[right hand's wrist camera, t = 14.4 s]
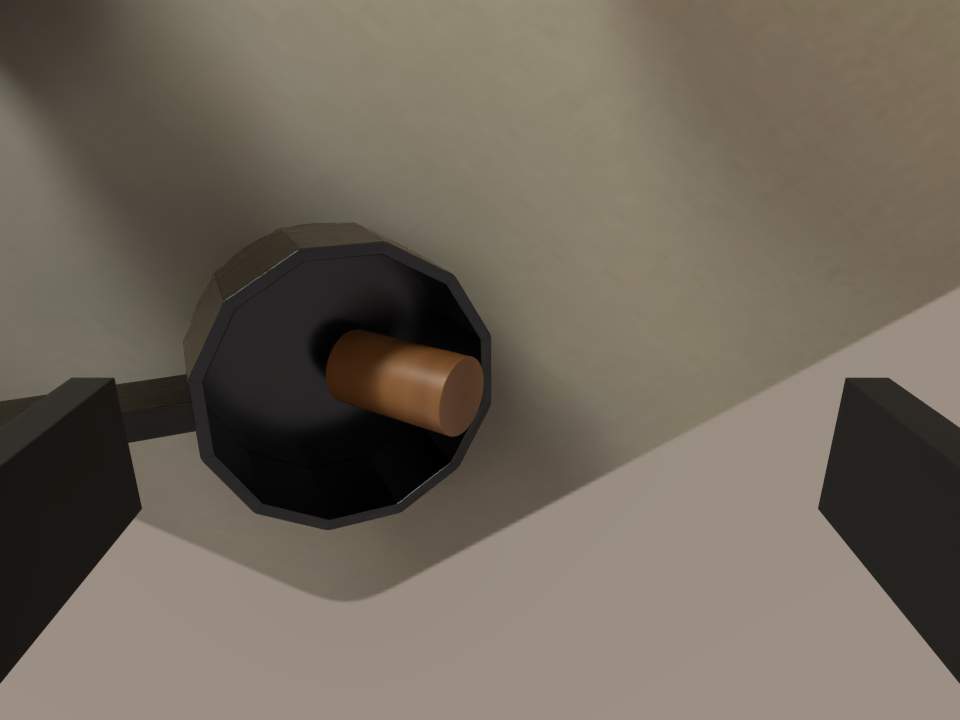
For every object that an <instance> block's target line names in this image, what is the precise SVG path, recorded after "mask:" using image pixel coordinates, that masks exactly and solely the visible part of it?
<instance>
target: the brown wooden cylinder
mask: <svg viewBox="0 0 960 720" xmlns="http://www.w3.org/2000/svg"><path fill="white" fill-rule="evenodd" d="M326 382H327V387H328V389H329V392H330V393H331V395H332V396H333V397H334V398H335V399H336V400H337V401H339V402H342V403H346V404H349V405H352V406H355V407H358V408H361V409H365V410H368V411H371V412H374V413H377V414H380V415H384V416H387V417H390V418H393V419H396V420H400V421H403V422H406V423H409V424H412V425H415V426H419V427H422V428H425V429H428V430H431V431H434V432H438V433H441V434H444V435H447V436H451V437H454V436H458V435H460V434H462V433H463V432H464V431H465V430H466V429H467V428H468V427H469V426H470V424H471V423H472V421H473V420H474V418H475V416H476V414H477V412H478V409H479V406H480V403H481V399H482V394H483V387H484V377H483V371H482V367H481V365H480V363H479V362H478V360H477V359H475V358H474V357H471V356H467V355H463V354H459V353H455V352H451V351H447V350H443V349H439V348H434V347H430V346H426V345H422V344H418V343H414V342H410V341H406V340H402V339H397V338H393V337H389V336H385V335H381V334H377V333H373V332H369V331H365V330H360V329H356V330H352V331H349V332H347V333H345V334H344V335H343V336H342V337H341V338H340V339H339V340H338V341H337V342H336V344H335V345H334V347H333V349H332V351H331V353H330V355H329V358H328V362H327V367H326Z"/></svg>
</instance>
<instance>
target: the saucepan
mask: <svg viewBox="0 0 960 720" xmlns="http://www.w3.org/2000/svg"><path fill="white" fill-rule="evenodd" d="M356 329H360V330H365V331H369V332H373V333H377V334H381V335H385V336H389V337H393V338H397V339H402V340H406V341H410V342H414V343H418V344H422V345H426V346H430V347H434V348H439V349H443V350H447V351H451V352H455V353H459V354H463V355H467V356H471V357H474V358H475V359H477V360H478V362H479V363H480V365H481V367H482V371H483V377H484V387H483V394H482V399H481V403H480V406H479V409H478V412H477V414H476V416H475V418H474V420H473V421H472V423H471V424H470V426H469V427H468V428H467V429H466V430H465V431H464V432H463V433H462V434H460V435H458V436H454V437H451V436H447V435H444V434H441V433H438V432H434V431H431V430H428V429H425V428H422V427H419V426H415V425H412V424H409V423H406V422H403V421H400V420H396V419H393V418H390V417H387V416H384V415H380V414H377V413H374V412H371V411H368V410H365V409H361V408H358V407H355V406H352V405H349V404H346V403H342V402H339V401H337V400H336V399H335V398H334V397H333V396H332V395H331V393H330V392H329V389H328V387H327V382H326V367H327V362H328V358H329V355H330V353H331V351H332V349H333V347H334V345H335V344H336V342H337V341H338V340H339V339H340V338H341V337H342V336H343V335H344V334H345V333H347V332H349V331H352V330H356ZM183 346H184V355H185V363H186V372H187V374H185V375H179V376H172V377H165V378H158V379H151V380H144V381H138V382H131V383H124V384H117V385H116V388H117V393H118V398H119V403H120V407H121V412H122V417H123V422H124V426H125V431H126V436H127V440H128V443H130V442H136V441H142V440H147V439H153V438H159V437H165V436H170V435H176V434H182V433H187V432H193V431H196V434H197V440H198V445H199V451H200V457H201V459H202V461H203V462H204V463H205V464H206V465H207V466H208V467H209V468H210V469H211V470H212V471H213V472H214V473H215V474H216V475H217V476H218V477H219V478H220V479H221V480H222V481H223V482H224V483H225V484H226V485H227V486H228V487H229V488H230V489H231V490H232V491H233V492H234V493H235V494H236V495H237V496H238V497H239V498H240V499H241V500H242V501H243V502H244V503H245V504H246V505H247V506H248V507H249V508H250V509H251V510H252V511H253V512H254V513H256V514H260V515H264V516H269V517H273V518H277V519H281V520H286V521H290V522H294V523H298V524H303V525H307V526H311V527H315V528H320V529H324V530H332V529H336V528H340V527H344V526H348V525H352V524H356V523H360V522H364V521H369V520H373V519H377V518H381V517H385V516H389V515H393V514H397V513H400V512H402V511H403V510H405V509H406V508H407V507H409V506H410V505H411V504H412V503H414V502H415V501H416V500H417V499H419V498H420V497H421V496H423V495H424V494H425V493H426V492H428V491H429V490H430V489H432V488H433V487H434V486H435V485H437V484H438V483H439V482H440V481H442V480H443V479H444V478H446V477H447V476H448V475H449V474H451V473H452V472H453V471H455V470H456V469H457V468H458V467H459V465H460V463H461V461H462V460H463V458H464V456H465V454H466V452H467V450H468V448H469V446H470V444H471V442H472V440H473V438H474V436H475V434H476V432H477V430H478V429H479V427H480V425H481V423H482V421H483V419H484V417H485V415H486V413H487V411H488V409H489V407H490V404H491V336H490V333H489V331H488V330H487V328H486V326H485V325H484V323H483V322H482V320H481V318H480V317H479V315H478V313H477V312H476V310H475V308H474V307H473V305H472V303H471V302H470V300H469V298H468V297H467V295H466V293H465V292H464V290H463V288H462V287H461V285H460V283H459V282H458V280H457V278H456V277H455V276H454V275H453V274H452V273H450V272H448V271H446V270H445V269H443V268H441V267H439V266H438V265H436V264H434V263H432V262H431V261H429V260H427V259H426V258H424V257H422V256H420V255H419V254H417V253H415V252H413V251H411V250H409V249H407V248H405V247H403V246H401V245H399V244H397V243H395V242H393V241H391V240H389V239H387V238H385V237H383V236H381V235H379V234H377V233H375V232H373V231H371V230H369V229H367V228H365V227H363V226H361V225H359V224H357V223H341V224H337V223H312V224H305V225H298V226H294V227H288V228H280V229H277V230H276V231H274V232H273V233H271V234H270V235H267V236H265V237H263V238H261V239H259V240H257V241H255V242H254V243H252V244H250V245H249V246H247V247H245V248H244V249H243V250H241V251H240V252H239V253H238V254H236V255H235V256H234V257H233V258H231V259H230V260H229V261H228V262H227V263H226V264H225V265H224V266H223V267H221V268H220V269H218V270H217V271H216V272H215V273H214V274H213V276H212V278H211V281H210V283H209V285H208V286H207V287H206V289H205V291H204V293H203V295H202V297H201V298H200V300H199V302H198V304H197V307H196V310H195V312H194V315H193V318H192V321H191V325H190V327H189V329H188V332H187V334H186V336H185V338H184V342H183ZM45 396H46V395H42V396H35V397H28V398H21V399H14V400H8V401H1V402H0V428H1V427H2V426H3V425H5V424H6V423H8V422H9V421H11V420H12V419H13V418H15V417H16V416H18V415H19V414H21V413H22V412H23V411H25V410H26V409H28V408H29V407H31V406H32V405H33V404H35V403H36V402H38V401H39V400H41V399H42V398H43V397H45Z"/></svg>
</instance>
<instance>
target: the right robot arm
mask: <svg viewBox="0 0 960 720" xmlns="http://www.w3.org/2000/svg"><path fill="white" fill-rule="evenodd" d="M141 509H142V507H141V502H140V497H139V492H138V488H137V483H136V478H135V474H134V469H133V464H132V459H131V455H130V450H129V445H128V440H127V436H126V431H125V426H124V422H123V417H122V412H121V407H120V403H119V398H118V393H117V388H116V384H115V379H114V378H71V379H69V380H68V381H66V382H65V383H63V384H62V385H61V386H59V387H58V388H56V389H55V390H53V391H52V392H51V393H49V394H48V395H46V396H45V397H43V398H42V399H41V400H39V401H38V402H36V403H35V404H33V405H32V406H31V407H29V408H28V409H26V410H25V411H23V412H22V413H21V414H19V415H18V416H16V417H15V418H13V419H12V420H11V421H9V422H8V423H6V424H5V425H3V426H2V427H1V428H0V683H1V682H2V681H3V679H4V678H5V677H6V676H7V675H8V673H9V672H10V671H11V670H12V668H13V667H14V666H15V665H16V663H17V662H18V661H19V660H20V658H21V657H22V656H23V655H24V654H25V652H26V651H27V650H28V649H29V647H30V646H31V645H32V644H33V642H34V641H35V640H36V639H37V638H38V636H39V635H40V634H41V633H42V631H43V630H44V629H45V628H46V626H47V625H48V624H49V623H50V621H51V620H52V619H53V618H54V617H55V615H56V614H57V613H58V612H59V610H60V609H61V608H62V607H63V605H64V604H65V603H66V602H67V600H68V599H69V598H70V597H71V596H72V594H73V593H74V592H75V591H76V589H77V588H78V587H79V586H80V584H81V583H82V582H83V581H84V579H85V578H86V577H87V576H88V575H89V573H90V572H91V571H92V570H93V568H94V567H95V566H96V565H97V563H98V562H99V561H100V560H101V558H102V557H103V556H104V555H105V554H106V552H107V551H108V550H109V549H110V547H111V546H112V545H113V544H114V542H115V541H116V540H117V539H118V538H119V536H120V535H121V534H122V533H123V531H124V530H125V529H126V528H127V526H128V525H129V524H130V523H131V522H132V520H133V519H134V518H135V517H136V515H137V514H138V513H139V512H140V510H141ZM818 509H819V510H820V512H821V513H822V514H823V515H824V517H825V518H826V519H827V520H828V522H829V523H830V524H831V525H832V527H833V528H834V529H835V530H836V531H837V533H838V534H839V535H840V536H841V538H842V539H843V540H844V541H845V543H846V544H847V545H848V546H849V547H850V549H851V550H852V551H853V552H854V554H855V555H856V556H857V557H858V559H859V560H860V561H861V562H862V564H863V565H864V566H865V567H866V568H867V570H868V571H869V572H870V573H871V575H872V576H873V577H874V578H875V580H876V581H877V582H878V583H879V584H880V586H881V587H882V588H883V589H884V591H885V592H886V593H887V594H888V596H889V597H890V598H891V599H892V600H893V602H894V603H895V604H896V605H897V607H898V608H899V609H900V610H901V612H902V613H903V614H904V615H905V617H906V618H907V619H908V620H909V621H910V623H911V624H912V625H913V626H914V628H915V629H916V630H917V631H918V633H919V634H920V635H921V636H922V638H923V639H924V640H925V641H926V642H927V644H928V645H929V646H930V647H931V648H932V650H933V651H934V652H935V654H936V655H937V656H938V657H939V658H940V660H941V661H942V662H943V663H944V665H945V666H946V667H947V668H948V670H949V671H950V672H951V673H952V674H953V676H954V677H955V678H956V679H957V681H958V682H959V683H960V428H959V427H958V426H957V425H955V424H954V423H952V422H951V421H949V420H948V419H947V418H945V417H944V416H942V415H941V414H939V413H938V412H937V411H935V410H934V409H932V408H931V407H929V406H928V405H926V404H925V403H924V402H922V401H921V400H919V399H918V398H916V397H915V396H914V395H912V394H911V393H909V392H908V391H907V390H905V389H904V388H902V387H901V386H899V385H898V384H897V383H895V382H894V381H892V380H891V379H889V378H846V379H845V384H844V388H843V393H842V398H841V403H840V407H839V412H838V417H837V422H836V426H835V431H834V436H833V440H832V445H831V450H830V455H829V459H828V464H827V469H826V474H825V478H824V483H823V488H822V492H821V497H820V502H819V507H818Z"/></svg>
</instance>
